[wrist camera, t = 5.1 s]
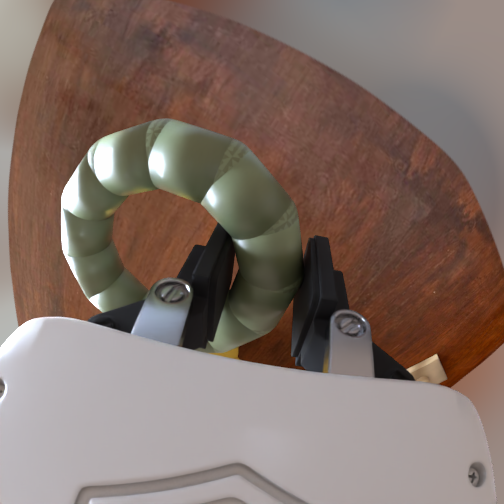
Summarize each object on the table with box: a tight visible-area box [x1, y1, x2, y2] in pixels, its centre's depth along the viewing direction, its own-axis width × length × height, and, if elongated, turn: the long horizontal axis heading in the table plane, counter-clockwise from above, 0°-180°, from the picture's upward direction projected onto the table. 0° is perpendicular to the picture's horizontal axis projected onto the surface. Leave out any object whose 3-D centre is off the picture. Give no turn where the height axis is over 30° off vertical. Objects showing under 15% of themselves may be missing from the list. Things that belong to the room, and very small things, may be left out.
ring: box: [61, 119, 304, 353], centre depth 12 cm, size 10×10×2 cm
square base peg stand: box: [406, 354, 447, 384], centre depth 35 cm, size 8×8×10 cm
